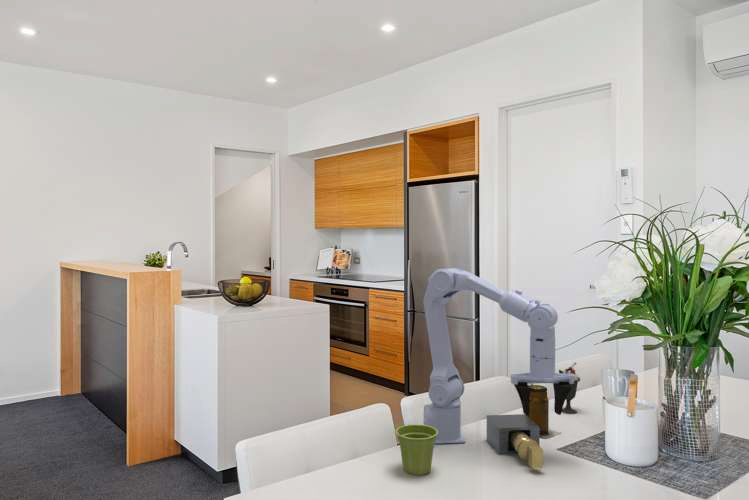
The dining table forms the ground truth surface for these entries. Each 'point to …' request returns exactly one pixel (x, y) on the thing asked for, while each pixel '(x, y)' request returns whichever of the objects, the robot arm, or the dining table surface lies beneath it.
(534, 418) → the condiment
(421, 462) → the plant pot
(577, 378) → the sundae
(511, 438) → the gold stepped cylinder
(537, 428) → the housing
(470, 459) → the dining table surface
